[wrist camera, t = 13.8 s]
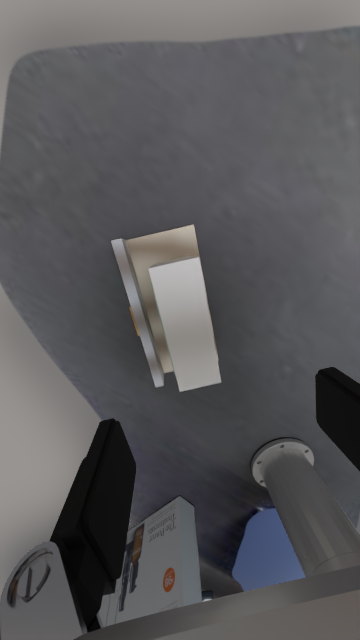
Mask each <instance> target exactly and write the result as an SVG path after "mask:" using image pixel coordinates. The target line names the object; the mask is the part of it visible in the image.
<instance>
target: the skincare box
mask: <svg viewBox="0 0 360 640" xmlns="http://www.w3.org/2000/svg"><path fill="white" fill-rule="evenodd" d="M199 602H202V595H201V583H200V570H199V558H198V547H197V539H196V527H195V515H194V506H192V505H191V504H190V503H189V502H187V501H186V500H185V499H183V498H182V497H180V496H179V497H177V498H176V499H174V500H173V501H171V502H170V503H168V504H167V505H165V506H164V507H163V508H161V509H160V510H158V511H157V512H155V513H154V514H152V515H151V516H149V517H148V518H147V519H145V520H144V521H142V522H141V523H139V524H138V525H136V526H135V527H134V528H132V529H131V530H129V531H128V533H127V540H126V547H125V554H124V562H123V569H122V574H121V577H120V578H119V579H117V580H116V587H115V593H112V594H108V595H104V596H103V597H102V603H101V608H100V610H99V615H100V618H101V621H102V623H103V626H104V627H107V626H109V625H113V624H117V623H120V622H124V621H128V620H132V619H136V618H139V617H143V616H147V615H151V614H154V613H158V612H162V611H166V610H170V609H174V608H179V607H183V606H187V605H191V604H195V603H199Z"/></svg>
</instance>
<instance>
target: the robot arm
mask: <svg viewBox="0 0 360 640" xmlns="http://www.w3.org/2000/svg"><path fill="white" fill-rule="evenodd" d="M315 380H316V419H317V423H318V425H319V426H320V428H321V429H322V430H323V431H324V432H325V433H326V434H327V436H328V437H329V438H330V439H331V440H332V441H333V442H334V443H335V444H336V446H337V447H338V448H339V449H340V450H341V451H342V452H343V453H344V454H345V455H346V457H347V458H348V459H349V460H350V461H351V462H352V463H353V464H354V465H355V467H356V468H357V469H358V470H359V471H360V384H359V383H357V382H356V381H354V380H353V379H351V378H350V377H348V376H347V375H345V374H344V373H342V372H341V371H339V370H338V369H336V368H334V367H329V368H325V369H321V370H319V371H318V374H316V376H315ZM313 464H314V455H313V453H312V451H311V450H310V448H309V447H308V446H307V445H306V444H305V443H304V442H302V441H300V440H297V439H291V438H284V439H278V440H275V441H272V442H270V443H268V444H266V445H265V446H263V447H262V448H261V449H260V450H259V451H258V452H257V453H256V454H255V456H254V458H253V460H252V463H251V471H252V474H253V477H254V479H255V480H256V481H257V483H259V484H260V485H262V486H264V487H266V488H267V490H268V492H269V494H270V496H271V499H272V501H273V503H274V506H275V508H276V510H277V512H278V515H279V517H280V519H281V521H282V524H283V526H284V528H285V531H286V533H287V535H288V538H289V540H290V542H291V544H292V546H293V549H294V551H295V553H296V556H297V558H298V560H299V563H300V565H301V567H302V570H303V572H304V574H305V576H306V578H302V579H298V580H293V581H289V582H284V583H280V584H276V585H271V586H267V587H263V588H258V589H254V590H250V591H246V592H241V593H237V594H233V595H229V596H225V597H220V598H216V599H212V600H208V601H204V602H199V603H195V604H191V605H187V606H183V607H179V608H174V609H170V610H166V611H162V612H158V613H154V614H151V615H147V616H143V617H139V618H136V619H132V620H128V621H124V622H120V623H117V624H113V625H109V626H107V627H104V626H103V623H102V621H101V618H100V615H99V610H100V608H101V603H102V597H103V596H104V595H108V594H112V593H115V587H116V580H117V579H119V578H120V577H121V574H122V569H123V562H124V554H125V547H126V540H127V533H128V525H129V518H130V511H131V503H132V496H133V489H134V482H135V474H136V463H135V460H134V457H133V455H132V452H131V450H130V447H129V445H128V442H127V440H126V437H125V435H124V432H123V430H122V427H121V425H120V422H119V421H115V419H114V418H112V419H108V420H104V421H101V422H100V423H99V426H98V428H97V431H96V434H95V436H94V438H93V441H92V444H91V446H90V449H89V451H88V454H87V456H86V457H85V458H84V459H83V461H82V463H81V465H80V467H79V470H78V472H77V475H76V477H75V480H74V482H73V484H72V487H71V489H70V492H69V494H68V497H67V499H66V502H65V504H64V507H63V509H62V511H61V514H60V516H59V519H58V521H57V524H56V526H55V529H54V531H53V534H52V536H51V539H50V541H49V542H43V543H41V544H39V545H37V546H35V547H34V548H33V549H32V550H30V551H29V552H28V553H27V554H26V555H25V556H24V557H23V558H22V559H21V560H20V561H19V562H18V564H17V565H16V567H15V568H14V569H13V571H12V572H11V574H10V576H9V578H8V579H7V581H6V583H5V586H4V589H3V592H2V594H1V599H0V640H360V534H359V532H358V531H357V529H356V528H355V527H354V525H353V524H352V522H351V521H350V519H349V518H348V516H347V515H346V514H345V512H344V511H343V509H342V508H341V506H340V505H339V504H338V502H337V501H336V499H335V498H334V496H333V495H332V494H331V492H330V491H329V489H328V488H327V486H326V485H325V484H324V482H323V481H322V479H321V478H320V476H319V475H318V473H317V472H316V471H315V469H314V468H313Z"/></svg>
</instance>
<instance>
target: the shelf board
mask: <svg viewBox="0 0 360 640" xmlns="http://www.w3.org/2000/svg"><path fill="white" fill-rule="evenodd" d="M111 243H112V246H113V249H114V253H115V256H116V259H117V262H118V266H119V269H120V272H121V275H122V279H123V282H124V285H125V289H126V292H127V295H128V298H129V302H130V305H131V306H130V307H129V309H130V312H131V315H132V318H133V322H134V325H135V328H136V331H137V335H138V336H140V338H141V341H142V344H143V347H144V351H145V354H146V357H147V360H148V364H149V367H150V370H151V373H152V377H153V380H154V383H155V387H160V386H164V373H168V372H172V371H173V367H172V363H171V359H170V355H169V352H168V348H167V344H166V340H165V336H164V332H163V328H162V324H161V321H160V317H159V313H158V309H157V305H156V301H155V297H154V293H153V290H152V286H151V284H152V281H151V277H150V273H149V269H148V268H150V267H151V266H152V265H153V264H155V263H159V262H164V261H168V260H173V259H177V258H181V257H186V256H192V257H199V259H200V256H199V251H198V245H197V240H196V234H195V229H194V225H190V226H185V227H181V228H177V229H173V230H168V231H164V232H160V233H155V234H151V235H147V236H143V237H138V238H134V239H130V240H124V239H122V238H121V239H117V240H112V241H111ZM200 265H201V262H200ZM201 270H202V267H201ZM202 276H203V273H202ZM203 282H204V278H203ZM204 287H205V284H204ZM205 293H206V289H205ZM206 299H207V294H206ZM207 304H208V300H207ZM208 310H209V305H208ZM209 316H210V311H209ZM210 321H211V316H210ZM211 327H212V322H211ZM212 332H213V327H212ZM213 338H214V333H213ZM214 344H215V338H214ZM215 349H216V344H215ZM216 355H217V349H216ZM217 361H219V360H218V355H217Z"/></svg>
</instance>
